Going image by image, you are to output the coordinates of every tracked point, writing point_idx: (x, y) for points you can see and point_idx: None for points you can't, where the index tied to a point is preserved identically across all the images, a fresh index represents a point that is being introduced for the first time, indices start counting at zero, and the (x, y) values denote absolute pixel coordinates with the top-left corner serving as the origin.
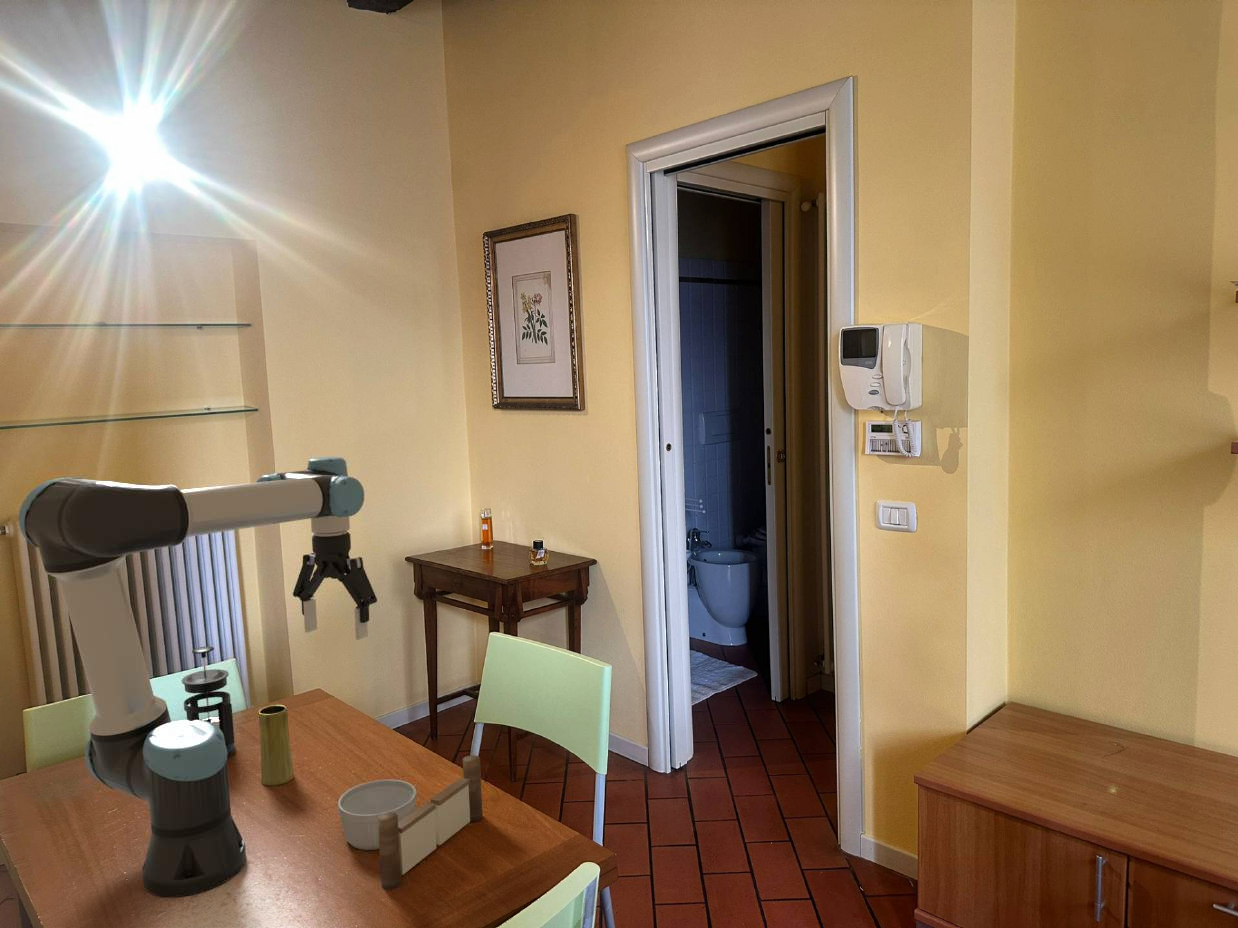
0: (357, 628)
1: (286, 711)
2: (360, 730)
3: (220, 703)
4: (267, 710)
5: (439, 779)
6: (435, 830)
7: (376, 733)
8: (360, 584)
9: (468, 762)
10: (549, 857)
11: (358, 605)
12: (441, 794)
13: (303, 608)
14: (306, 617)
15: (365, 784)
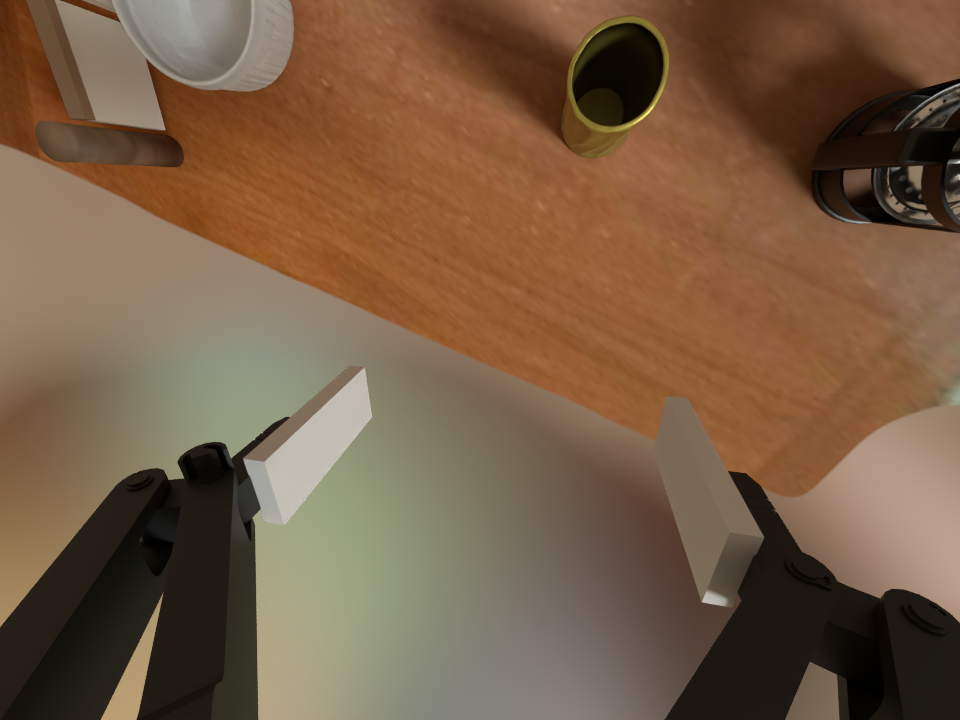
0: (324, 390)
1: (572, 110)
2: (574, 373)
3: (950, 140)
4: (654, 94)
5: (309, 248)
6: (88, 2)
7: (535, 370)
8: (19, 618)
9: (41, 123)
10: (14, 93)
11: (192, 456)
12: (46, 25)
13: (756, 506)
14: (694, 447)
15: (249, 30)
